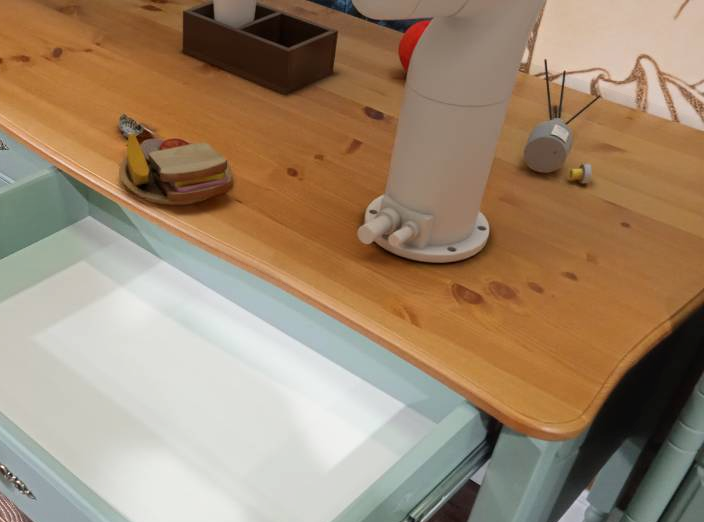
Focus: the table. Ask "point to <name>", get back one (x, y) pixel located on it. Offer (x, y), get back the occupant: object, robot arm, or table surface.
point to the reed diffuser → (554, 142)
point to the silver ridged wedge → (130, 126)
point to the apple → (410, 42)
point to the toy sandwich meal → (174, 171)
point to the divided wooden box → (262, 46)
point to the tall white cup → (234, 11)
